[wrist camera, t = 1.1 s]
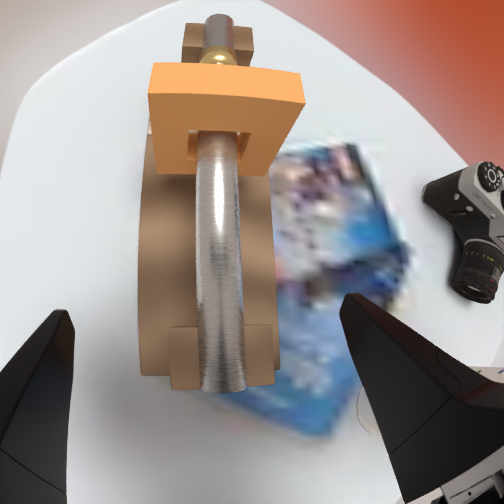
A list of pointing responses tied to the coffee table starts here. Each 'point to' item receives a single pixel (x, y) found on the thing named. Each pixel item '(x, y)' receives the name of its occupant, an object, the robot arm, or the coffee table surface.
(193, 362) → the stand
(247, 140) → the collar
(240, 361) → the pipe
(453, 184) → the camera
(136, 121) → the coffee table surface
